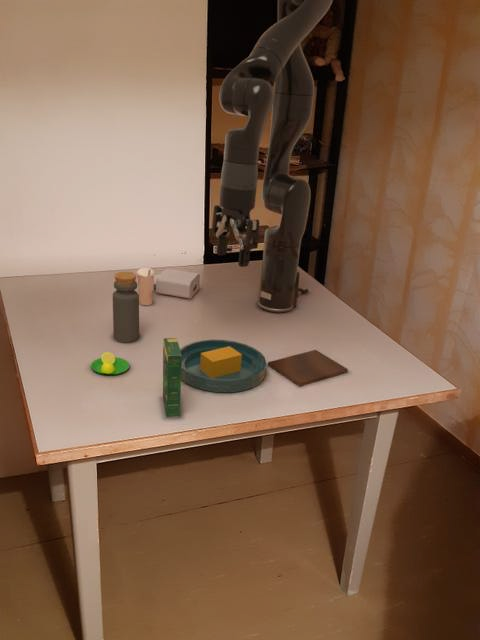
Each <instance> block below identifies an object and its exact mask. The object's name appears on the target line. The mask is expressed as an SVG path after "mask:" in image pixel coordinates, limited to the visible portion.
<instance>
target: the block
mask: <svg viewBox="0 0 480 640" xmlns="http://www.w3.org/2000/svg"><path fill="white" fill-rule="evenodd" d="M241 359H242V354H240V353H239V352H237V351H236V350H235V349H233V348H232V347H230V346H228V347H224V348H220V349H216V350H212V351H207V352H203V353H201V359H200V370H201V371H202V372H204V373H205V374H206V375H208V376H209V377H210V378H216V377H220V376H224V375H228V374H231V373H235V372H239V371H241Z"/></svg>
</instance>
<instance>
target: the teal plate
mask: <svg viewBox="0 0 480 640" xmlns="http://www.w3.org/2000/svg"><path fill="white" fill-rule="evenodd" d="M228 346H230V347H232V348H233V349H235V350H236V351H237V352H239V353H240V354H242V359H241V371H239V372H235V373H231V374H228V375H224V376H220V377H216V378H210V377H209V376H208V375H206V374H205V373H204V372H202V371H201V370H200V359H201V353H203V352H207V351H212V350H216V349H220V348H224V347H228ZM180 351H181V354H182V367H181V382H184V383H185V384H186V385H189V386H191V387H193V388H195V389H198V390H202V391H207V392H213V393H237V392H244V391H247V390H250V389H253V388H255V387H256V386H259V385H260V384H261V383H262V382H263V381H264V379H265V375H266V370H267V369H266V368H267V360H266V357H265V356H264V355H263V354H262V352H260V351H259V350H258V349H256V348H254V347H253V346H250V345H248V344H246V343H242V342H238V341H235V340H229V339H204V340H202V339H201V340H198V341H194V342H190V343H187V344H186V345H183V346H182V347H181V348H180Z"/></svg>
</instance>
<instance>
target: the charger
mask: <svg viewBox="0 0 480 640" xmlns="http://www.w3.org/2000/svg"><path fill="white" fill-rule="evenodd" d="M200 281H201V274H200V273H198V272H192V271H186V270H179V269H174V268H166V269H164V270H163V271H162V272H160V273H159V274H158V273H157V274H156V273H155V279H154V286H155V292H156V293H157V294H158V295H164V296H171V297H177V298H184V299H189V300H190V299H192V298H193V296H195V294H196V293H197V292H198V291H199V289H200Z"/></svg>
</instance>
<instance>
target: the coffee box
mask: <svg viewBox="0 0 480 640" xmlns="http://www.w3.org/2000/svg"><path fill="white" fill-rule="evenodd" d="M180 349H181V348H180V344H179V341H178V338H177V337H165V338H163V339H162V401H163V406H164V413H165V418H166V419H167V418H168V419H172V418H173V419H174V418H179V417H181V395H182V393H181V392H182V391H181V390H182V389H181V388H182V380H181V367H182V354H181V351H180Z"/></svg>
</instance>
